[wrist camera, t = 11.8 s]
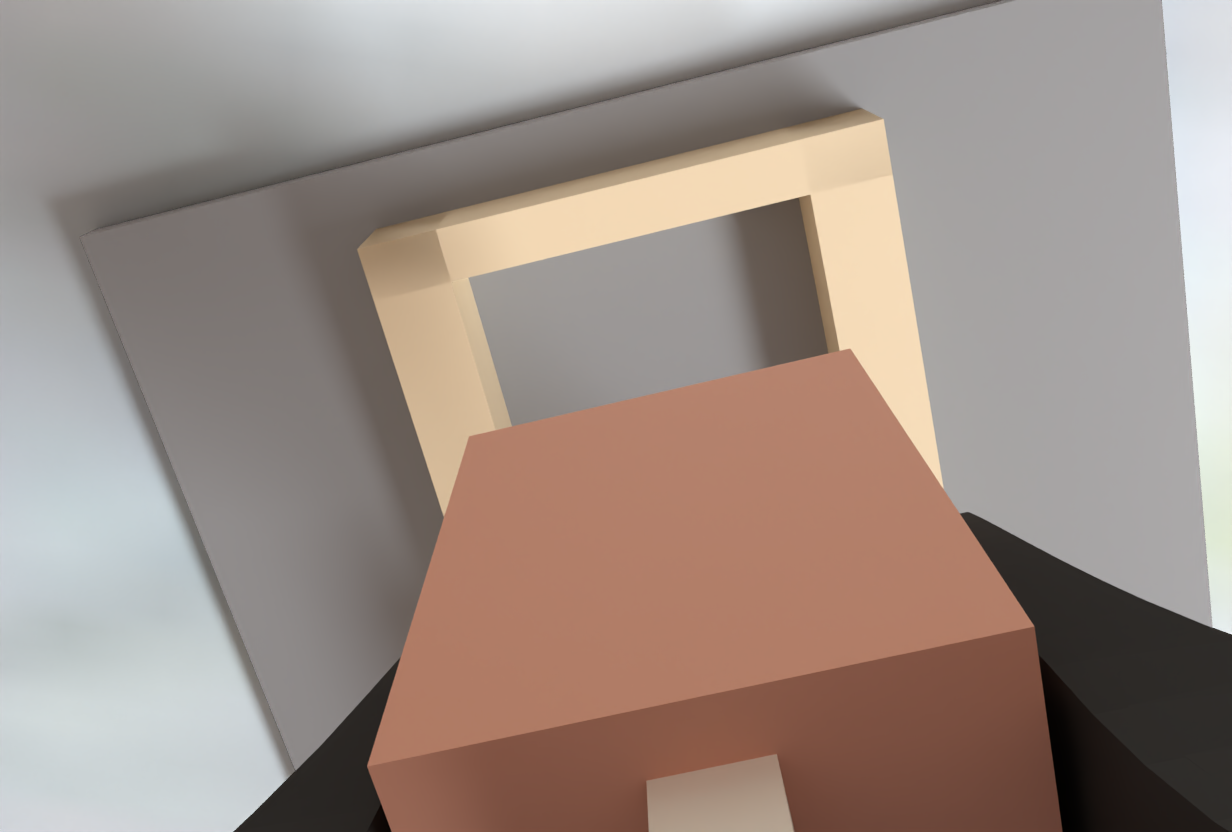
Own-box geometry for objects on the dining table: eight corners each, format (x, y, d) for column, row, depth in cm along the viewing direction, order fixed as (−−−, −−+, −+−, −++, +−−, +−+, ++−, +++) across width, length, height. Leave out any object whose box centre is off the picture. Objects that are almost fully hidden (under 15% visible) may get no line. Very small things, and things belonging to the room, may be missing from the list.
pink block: (910, 679, 13) (1182, 1305, 7) (566, 751, 14) (528, 1415, 7) (849, 348, 12) (1120, 755, 6) (469, 436, 12) (321, 914, 6)
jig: (1223, 923, 24) (1277, 1006, 22) (431, 1073, 26) (417, 1164, 24) (1142, -36, 18) (1207, -38, 16) (94, 229, 19) (35, 257, 17)
